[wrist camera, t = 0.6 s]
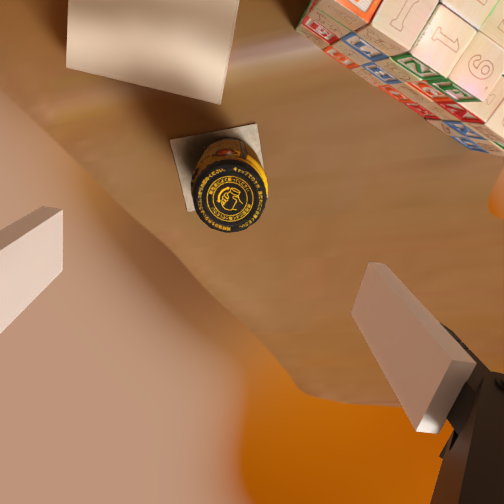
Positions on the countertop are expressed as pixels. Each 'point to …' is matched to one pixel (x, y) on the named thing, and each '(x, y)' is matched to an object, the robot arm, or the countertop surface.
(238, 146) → the condiment
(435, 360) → the robot arm
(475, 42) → the stack of blocks
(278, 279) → the countertop surface
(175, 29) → the birch block
